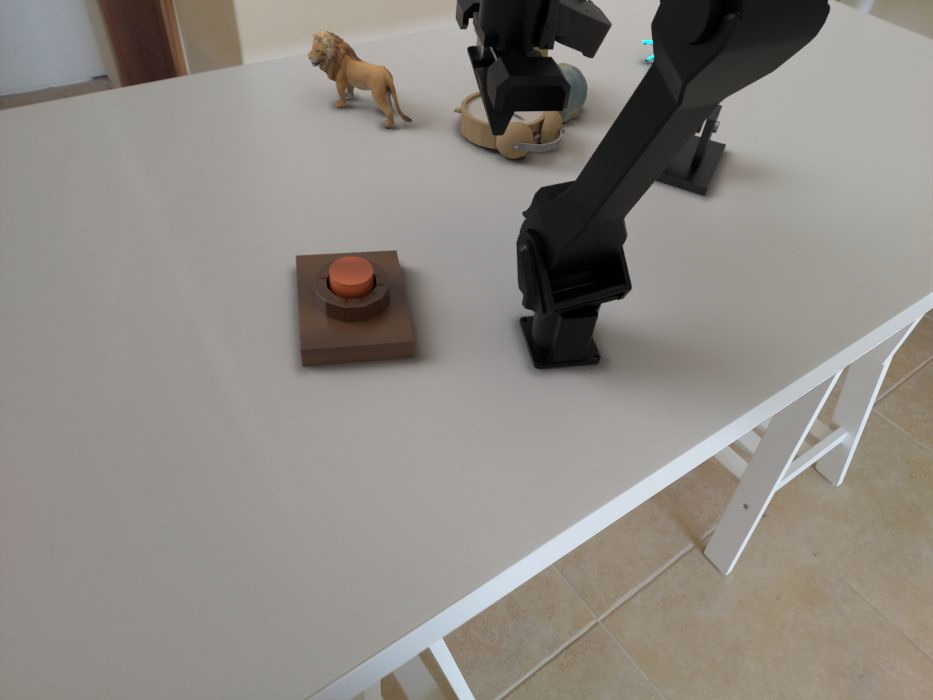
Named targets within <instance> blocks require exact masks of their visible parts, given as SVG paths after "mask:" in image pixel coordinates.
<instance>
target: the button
mask: <svg viewBox="0 0 933 700" xmlns="http://www.w3.org/2000/svg"><path fill="white" fill-rule="evenodd" d="M329 280H330V288H331V290H332V292H333V293H334V294H336V295H337V296H340V297H343V298H346V299H350V298H361V297H363V296H365V295H367V294H369V293H370V292H371V290H372V289H373V285H374V280H373V267H372V265H371V264H370V263H369V262H368V261H367V260H365V259H363V258H360V257H353V256H349V257H343V258H340V259H338V260H336V261H334V262H333V263H332V264H331V266H330V268H329Z"/></svg>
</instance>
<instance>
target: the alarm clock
mask: <svg viewBox="0 0 933 700" xmlns="http://www.w3.org/2000/svg"><path fill="white" fill-rule="evenodd" d="M453 110H454V112H453V113H458V114H460V125H459V126H460V127H459V130H460V132H461V134H462V136H463V137H464V138H465V139H467V141H469V142H470V143H473V144H475V145H478V146H480V147H482V148H488V149H491V150H498V152H499V153H500V155H502V156H503V157H505V158H507V159H511V160H512V159H513V160H517V159H521V158H523V157H524V156H526V155H527V154H528V153H529V152H531V153H545V152H550V151H553V150H555V149H557V148H559V147H560V146H561V145H562V142H563V141H562V140H563V134H565V133H566V129H565V128H564V125H563V122H562V118H561V115H560V114H559V113H558V112H557V111H531V112H515V113H514V115H513V117H512V119H511V121H510V123H509V125H508V127H507V129H506V131H505V133H504V134H503V135H500V136H494V135H493V134H492V132H491V129H490V126H489V122H488V119H487V115H486V112H485V108H484V105H483V101H482V98H481V95H480V92H479V91H476V92H473V93H472V94H469V95H467V96H466V97H465V98H464V99H463V100H462V101H461V105H460V107H457V108H454V109H453ZM539 143H540V144H539Z"/></svg>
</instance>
